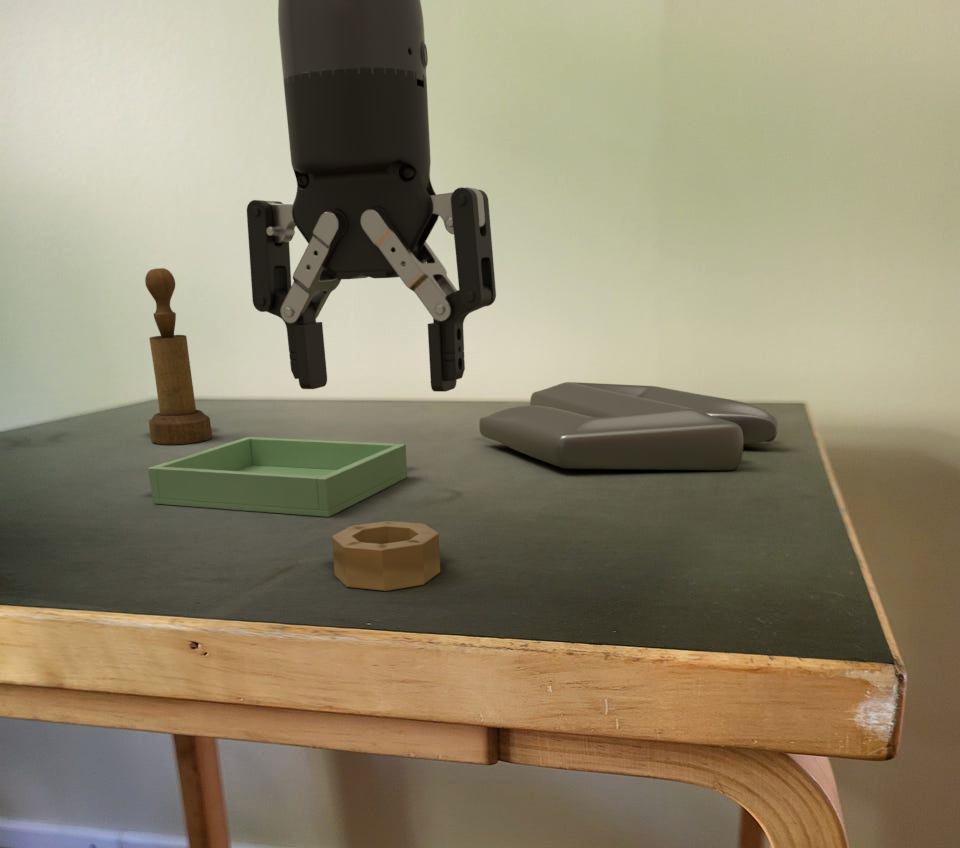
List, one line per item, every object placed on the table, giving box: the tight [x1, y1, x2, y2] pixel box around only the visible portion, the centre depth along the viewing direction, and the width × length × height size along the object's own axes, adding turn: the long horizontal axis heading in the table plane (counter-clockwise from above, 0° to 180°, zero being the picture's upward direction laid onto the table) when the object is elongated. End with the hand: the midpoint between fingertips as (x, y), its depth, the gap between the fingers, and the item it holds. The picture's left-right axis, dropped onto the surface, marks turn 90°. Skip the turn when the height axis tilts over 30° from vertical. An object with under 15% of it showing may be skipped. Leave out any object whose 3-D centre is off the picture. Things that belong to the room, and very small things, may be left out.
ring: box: [331, 520, 441, 592], centre depth 61 cm, size 6×6×3 cm
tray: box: [147, 436, 408, 518], centre depth 83 cm, size 17×15×3 cm
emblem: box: [478, 381, 779, 472], centre depth 97 cm, size 28×5×28 cm
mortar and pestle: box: [144, 267, 213, 446], centre depth 106 cm, size 7×6×18 cm
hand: (377, 388), depth 57 cm, fingers open, 8 cm apart
